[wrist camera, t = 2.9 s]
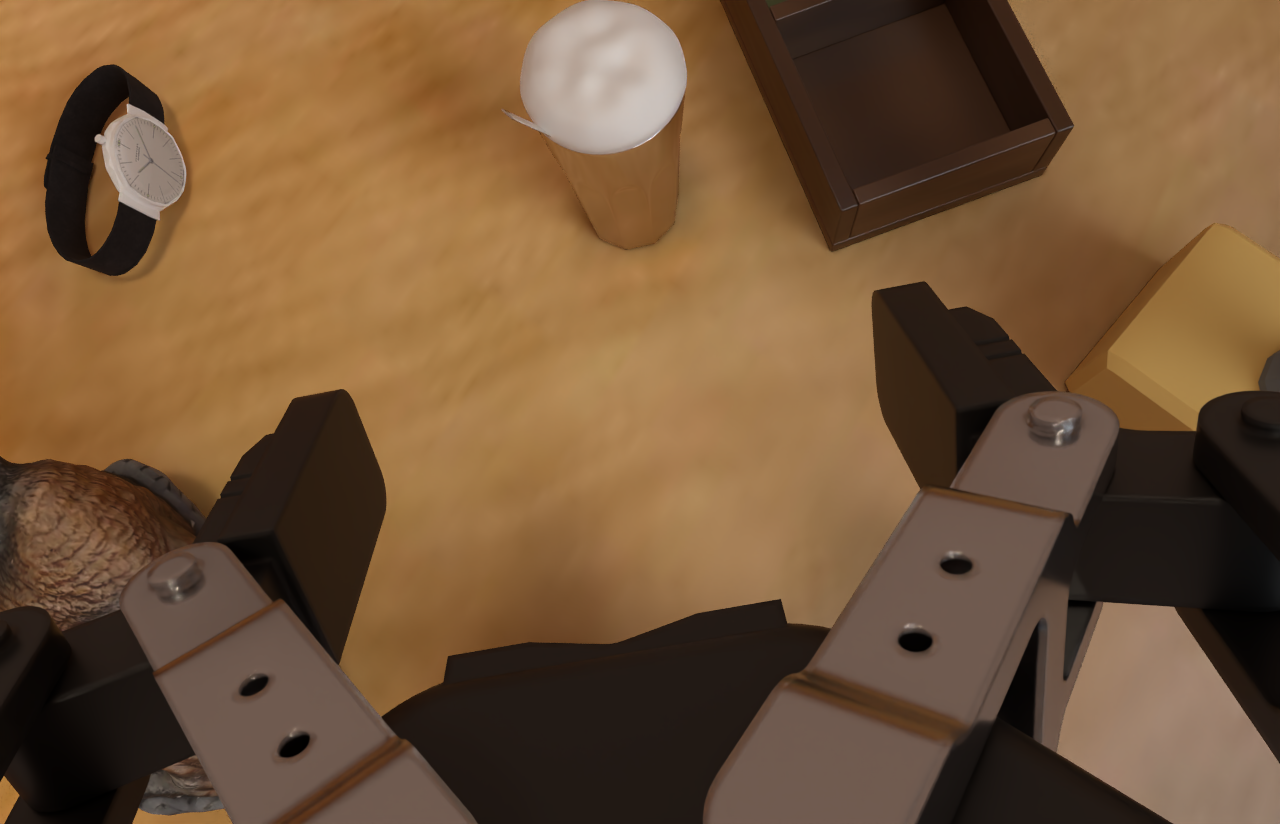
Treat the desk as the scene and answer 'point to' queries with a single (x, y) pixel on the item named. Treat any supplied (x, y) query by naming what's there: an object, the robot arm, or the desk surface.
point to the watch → (111, 169)
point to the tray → (899, 104)
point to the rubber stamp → (1190, 335)
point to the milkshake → (610, 114)
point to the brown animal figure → (95, 563)
